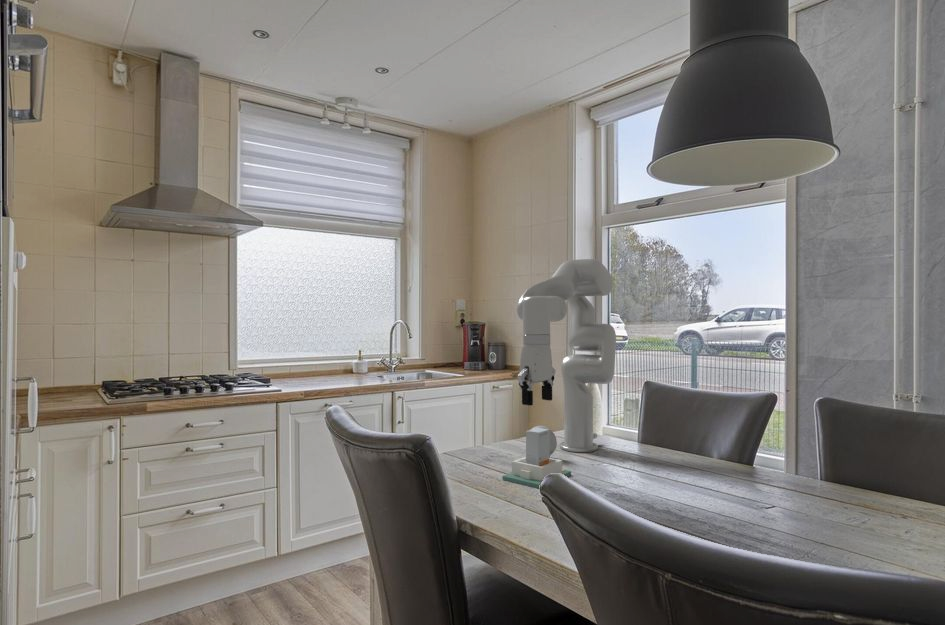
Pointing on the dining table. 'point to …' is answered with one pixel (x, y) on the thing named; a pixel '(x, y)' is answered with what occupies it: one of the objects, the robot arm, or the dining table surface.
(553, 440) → the donut
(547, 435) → the skincare box
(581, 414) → the robot arm
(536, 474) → the board
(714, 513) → the dining table surface
